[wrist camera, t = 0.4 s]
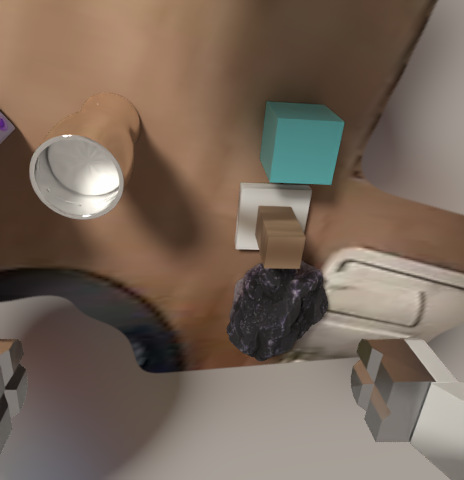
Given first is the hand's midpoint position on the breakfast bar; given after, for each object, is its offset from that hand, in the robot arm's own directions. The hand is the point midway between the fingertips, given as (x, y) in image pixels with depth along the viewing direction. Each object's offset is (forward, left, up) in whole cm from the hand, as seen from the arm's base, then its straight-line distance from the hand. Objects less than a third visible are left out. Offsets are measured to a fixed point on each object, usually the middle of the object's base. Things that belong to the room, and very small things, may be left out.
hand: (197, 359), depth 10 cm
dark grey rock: (+27, +12, -37) cm, 47 cm away
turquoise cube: (+5, +11, -37) cm, 38 cm away
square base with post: (+15, +10, -37) cm, 41 cm away
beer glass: (+5, -8, -37) cm, 38 cm away
